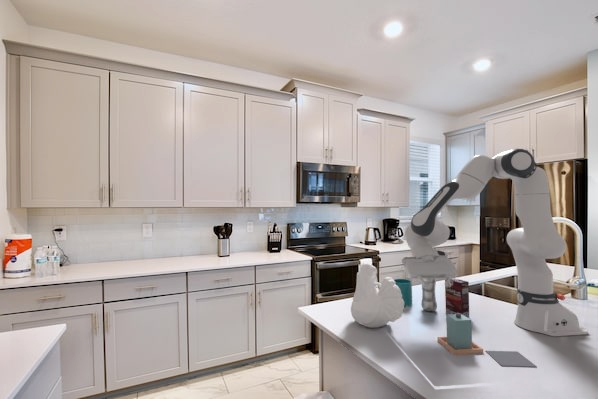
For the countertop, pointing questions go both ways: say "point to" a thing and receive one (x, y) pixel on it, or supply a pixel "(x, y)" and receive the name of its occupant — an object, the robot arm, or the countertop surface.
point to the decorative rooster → (375, 299)
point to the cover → (459, 331)
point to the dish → (463, 351)
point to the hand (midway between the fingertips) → (437, 286)
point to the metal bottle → (429, 295)
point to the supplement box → (457, 297)
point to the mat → (510, 359)
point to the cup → (405, 290)
